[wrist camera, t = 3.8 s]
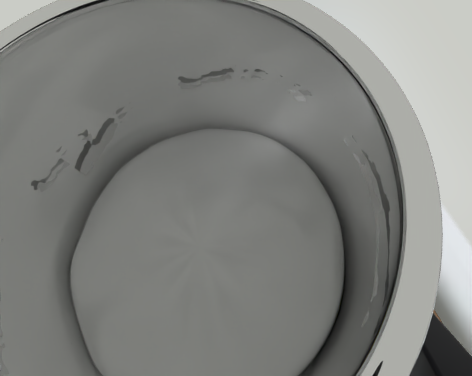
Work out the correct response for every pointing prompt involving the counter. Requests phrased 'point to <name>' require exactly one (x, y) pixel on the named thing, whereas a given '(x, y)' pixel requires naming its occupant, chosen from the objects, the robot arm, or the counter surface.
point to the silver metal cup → (209, 195)
